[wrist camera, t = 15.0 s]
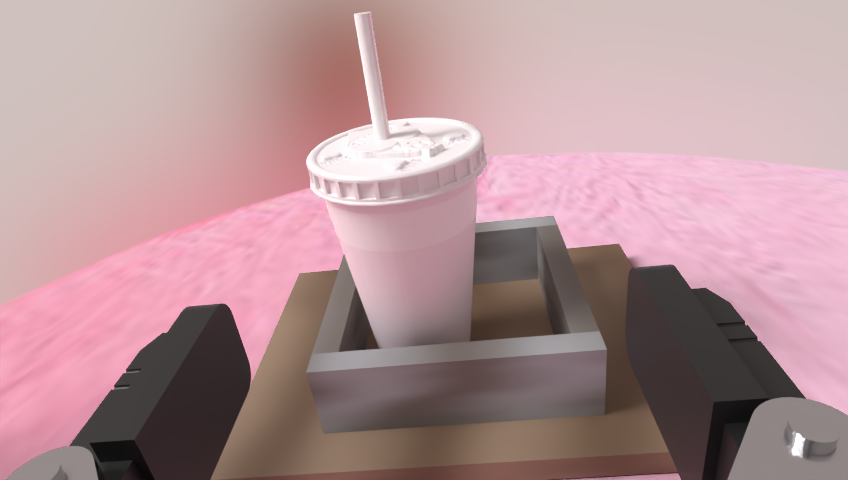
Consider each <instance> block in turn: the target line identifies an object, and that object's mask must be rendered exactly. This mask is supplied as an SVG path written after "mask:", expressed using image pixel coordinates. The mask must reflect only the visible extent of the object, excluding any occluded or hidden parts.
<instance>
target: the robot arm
mask: <svg viewBox="0 0 848 480" xmlns="http://www.w3.org/2000/svg"><path fill="white" fill-rule="evenodd" d="M625 341H626V349H627V354H628V358H629V362H630V365H631V367H632V369H633V372H634V374H635V376H636V378H637V381H638V383H639V385H640V387H641V390H642V392H643V394H644V396H645V399H646V401H647V403H648V405H649V408H650V410H651V412H652V414H653V417H654V419H655V421H656V424H657V426H658V428H659V430H660V433H661V435H662V437H663V439H664V442H665V444H666V446H667V448H668V451H669V453H670V455H671V457H672V460H673V462H674V464H675V466H676V469H677V471H678V473H679V475H680V478H681V480H848V415H846V414H844V413H843V412H841V411H839V410H837V409H835V408H833V407H831V406H828V405H825V404H823V403H820V402H816V401H813V400H809V399H806V398H805V397H804V395H803V394H802V393H801V392H800V390H799V389H798V388H797V387H796V385H795V384H794V383H793V382H792V380H791V379H790V378H789V377H788V375H787V374H786V373H785V372H784V370H783V369H782V368H781V367H780V365H779V364H778V363H777V362H776V360H775V359H774V358H773V356H772V355H771V354H770V353H769V351H768V350H767V349H766V348H765V346H764V345H763V344H762V343H761V341H758V340H757V336H756V335H755V334H754V333H753V331H752V330H751V329H750V328H749V326H748V325H745V321H744V320H743V319H742V317H741V316H740V315H739V314H738V312H737V311H736V310H735V309H734V307H733V306H732V305H731V304H730V303H729V302H728V301H726V300H724V299H723V298H721V297H720V296H718V295H716V294H715V293H713V292H711V291H710V290H708V289H707V288H699V289H691V288H690V287H689V285H688V284H687V282H686V281H685V280H684V278H683V277H682V275H681V274H680V273H679V271H678V270H677V268H676V267H675V266H674V265H660V266H649V267H638V268H631V269H630V271H629V275H628V289H627V308H626V327H625ZM250 381H251V371H250V364H249V361H248V358H247V355H246V352H245V349H244V346H243V343H242V340H241V338H240V335H239V332H238V329H237V326H236V323H235V320H234V317H233V315H232V312H231V310H230V308H229V307H228V306H227V305H226V304H213V305H202V306H190V307H186V308H185V309H184V310H183V311H182V312H181V314H180V315H179V317H178V318H177V319H176V321H175V322H174V324H173V325H172V327H171V328H170V329H169V331H168V332H167V333H162V334H161V335H159V336H158V337H157V338H156V339H154V340H153V341H152V342H151V343H149V344H148V345H147V346H146V347H144V348H143V349H142V350H140V352H139V353H138V354H137V356H136V357H135V358H134V360H133V361H132V362H131V364H130V365H129V366H128V368H127V369H126V373H124V374H123V375H122V376H121V377H120V379H119V380H118V381H117V383H116V384H115V385H114V387H115V388H114V390H111V391H110V392H109V393H108V395H107V396H106V397H105V399H104V400H103V401H102V403H101V404H100V405H99V407H98V408H97V409H96V411H95V412H94V414H93V415H92V416H91V418H90V419H89V420H88V422H87V423H86V424H85V426H84V427H83V428H82V430H81V431H80V432H79V434H78V435H77V436H76V438H75V439H74V440H73V442H72V443H71V444H70V446H67V447H62V448H57V449H54V450H51V451H48V452H46V453H44V454H41V455H39V456H37V457H36V458H34V459H32V460H30V461H29V462H27V463H25V464H24V465H23V466H21V467H20V468H18V469H17V470H16V471H15V472H14V473H12V474H11V475H10V476H9V477H8V478H7V479H6V480H211V477H212V475H213V473H214V470H215V468H216V466H217V463H218V461H219V459H220V457H221V454H222V452H223V450H224V447H225V445H226V443H227V440H228V438H229V436H230V433H231V431H232V429H233V427H234V424H235V422H236V420H237V417H238V415H239V413H240V410H241V408H242V406H243V404H244V401H245V399H246V397H247V394H248V392H249V388H250Z"/></svg>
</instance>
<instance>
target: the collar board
mask: <svg viewBox="0 0 848 480" xmlns="http://www.w3.org/2000/svg"><path fill="white" fill-rule="evenodd" d="M631 268H633V267H632V265H631V264H630V262H629V260H628V258H627V257H626V255H625V253H624V252H623V250H622V248H621V246H620V245H619V244H612V245H601V246H591V247H580V248H569V249H567V248H566V246H565V243H564V241H563V238H562V236H561V233H560V231H559V228H558V226H557V223H556V221H555V218H554V216H546V217H536V218H526V219H516V220H506V221H496V222H485V223H475V245H474V268H473V290H472V312H471V334H470V342H458V343H446V344H433V345H421V346H408V347H396V348H383V349H379V347H378V345H377V342H376V339H375V337H374V334H373V331H372V328H371V326H370V323H369V320H368V318H367V315H366V312H365V309H364V307H363V304H362V301H361V299H360V296H359V293H358V290H357V288H356V285H355V282H354V279H353V277H352V274H351V271H350V269H349V266H348V263H347V260H346V258H345V255H344V256H343V259H342V262H341V265H340V268H339V270H332V271H322V272H311V273H300V274H299V276H298V278H297V281H296V283H295V285H294V288H293V290H292V292H291V294H290V297H289V299H288V301H287V304H286V306H285V308H284V310H283V313H282V315H281V317H280V320H279V322H278V324H277V326H276V329H275V331H274V333H273V336H272V338H271V340H270V342H269V345H268V347H267V349H266V352H265V354H264V356H263V359H262V361H261V363H260V365H259V368H258V370H257V372H256V375H255V377H254V379H253V381H252V384H251V386H250V388H249V392H248V394H247V397H246V399H245V401H244V404H243V406H242V408H241V410H240V413H239V415H238V417H237V420H236V422H235V424H234V427H233V429H232V431H231V433H230V436H229V438H228V440H227V443H226V445H225V447H224V450H223V452H222V454H221V457H220V459H219V461H218V463H217V466H216V468H215V470H214V473H213V475H212V477H211V480H551V479H569V478H586V477H603V476H621V475H638V474H655V473H673V472H678V471H677V469H676V466H675V464H674V462H673V460H672V457H671V455H670V453H669V451H668V448H667V446H666V444H665V442H664V439H663V437H662V435H661V433H660V430H659V428H658V426H657V424H656V421H655V419H654V417H653V414H652V412H651V410H650V408H649V405H648V403H647V401H646V399H645V396H644V394H643V392H642V390H641V387H640V385H639V383H638V381H637V378H636V376H635V374H634V372H633V369H632V367H631V365H630V362H629V358H628V354H627V349H626V341H625V327H626V308H627V289H628V275H629V271H630V269H631Z"/></svg>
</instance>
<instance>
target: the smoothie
mask: <svg viewBox="0 0 848 480" xmlns="http://www.w3.org/2000/svg"><path fill="white" fill-rule="evenodd" d="M354 18H355V24H356V29H357V36H358V42H359V48H360V53H361V59H362V65H363V71H364V76H365V83H366V88H367V94H368V100H369V106H370V112H371V118H372V124H371V125H366V126H362V127H359V128H355V129H351V130H349V131H346V132H343V133H340V134H338V135H336V136H333V137H331V138H329V139H327V140H325V141H324V142H322V143H321V144H319V145H318V146H317V147H315V148H314V149H313V150H312V151H311V153H310V154H309V155H308V157H307V161H306V162H307V167H308V171H309V175H310V188H311V190H312V191H313V192H314V193H315V194H316V195H317V196H318V197H320V198H322V199H324V200H325V203H326V206H327V209H328V211H329V214H330V217H331V220H332V223H333V226H334V229H335V232H336V234H337V236H338V239H339V241H340V244H341V247H342V250H343V252H344V255H345V258H346V260H347V263H348V266H349V269H350V271H351V274H352V277H353V279H354V282H355V285H356V288H357V290H358V293H359V296H360V299H361V301H362V304H363V307H364V309H365V312H366V315H367V318H368V320H369V323H370V326H371V328H372V331H373V334H374V337H375V339H376V342H377V345H378V347H379V349H383V348H396V347H408V346H421V345H433V344H446V343H458V342H470V334H471V312H472V290H473V268H474V245H475V223H476V207H477V176H479V175H480V174H481V173H482V171H483V170H484V168H485V166H486V165H487V158H486V154H485V153H484V142H483V134H482V133H481V131H480V130H479V129H477V128H476V127H474V126H472V125H471V124H469V123H465V122H462V121H458V120H452V119H445V118H409V119H399V120H391V121H388V119H387V112H386V106H385V100H384V93H383V87H382V81H381V74H380V68H379V61H378V55H377V49H376V42H375V36H374V29H373V23H372V17H371V12H362V13H357V14H354Z"/></svg>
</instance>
